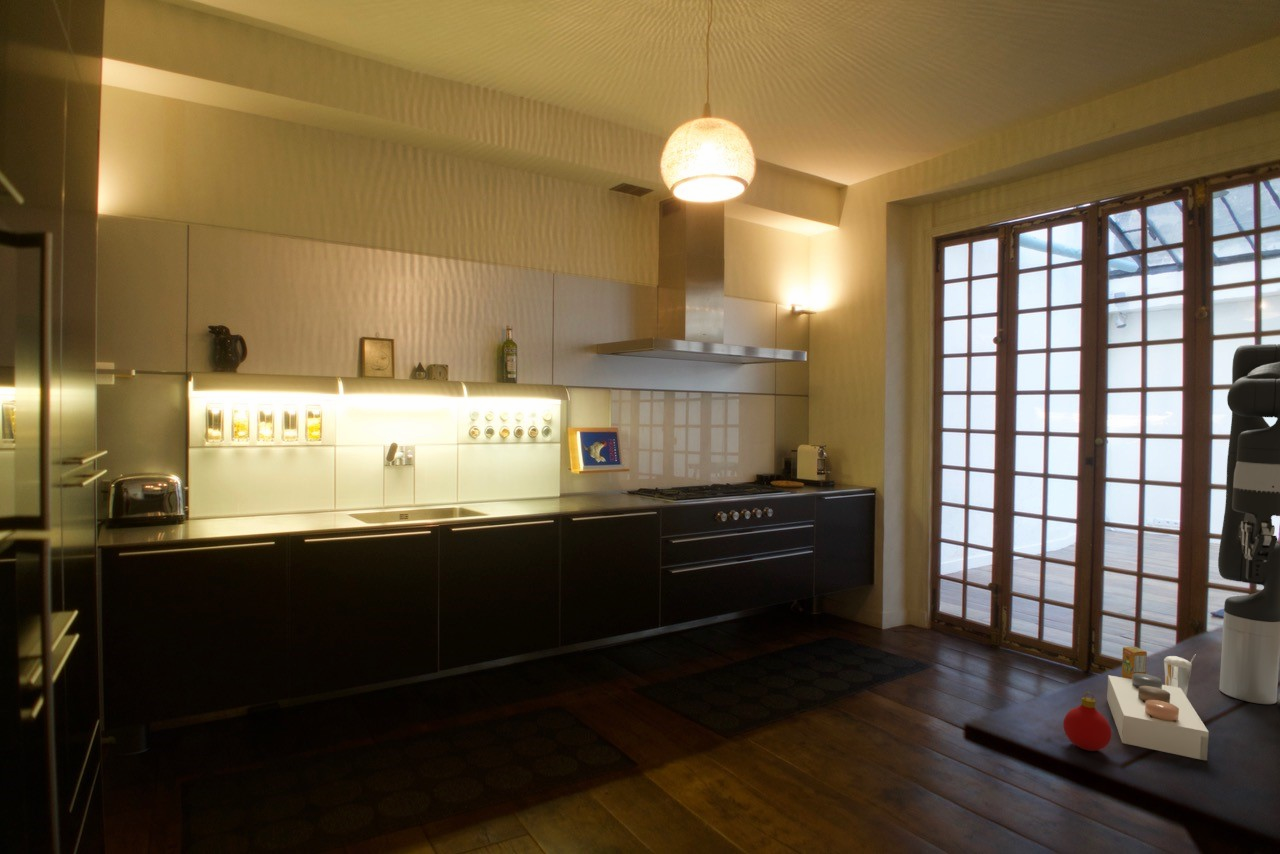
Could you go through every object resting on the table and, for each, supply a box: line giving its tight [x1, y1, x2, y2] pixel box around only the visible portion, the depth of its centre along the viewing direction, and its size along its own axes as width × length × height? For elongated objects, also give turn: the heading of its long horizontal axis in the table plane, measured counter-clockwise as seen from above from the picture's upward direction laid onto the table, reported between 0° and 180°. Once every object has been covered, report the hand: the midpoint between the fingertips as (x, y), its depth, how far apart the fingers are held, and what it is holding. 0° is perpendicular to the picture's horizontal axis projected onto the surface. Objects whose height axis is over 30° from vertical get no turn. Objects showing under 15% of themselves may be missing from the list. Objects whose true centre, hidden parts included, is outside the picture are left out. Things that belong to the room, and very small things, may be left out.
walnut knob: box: [1138, 686, 1170, 703], centre depth 132 cm, size 5×5×6 cm
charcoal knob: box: [1132, 673, 1163, 689], centre depth 139 cm, size 5×5×6 cm
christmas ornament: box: [1063, 691, 1112, 752], centre depth 122 cm, size 7×7×10 cm
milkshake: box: [1163, 654, 1196, 697], centre depth 145 cm, size 4×5×10 cm
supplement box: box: [1121, 646, 1148, 679], centre depth 147 cm, size 3×3×10 cm
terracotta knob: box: [1145, 700, 1179, 722], centre depth 125 cm, size 5×5×6 cm
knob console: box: [1106, 674, 1210, 762], centre depth 132 cm, size 22×12×5 cm, turn 152°
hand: (1254, 580), depth 130 cm, fingers closed
